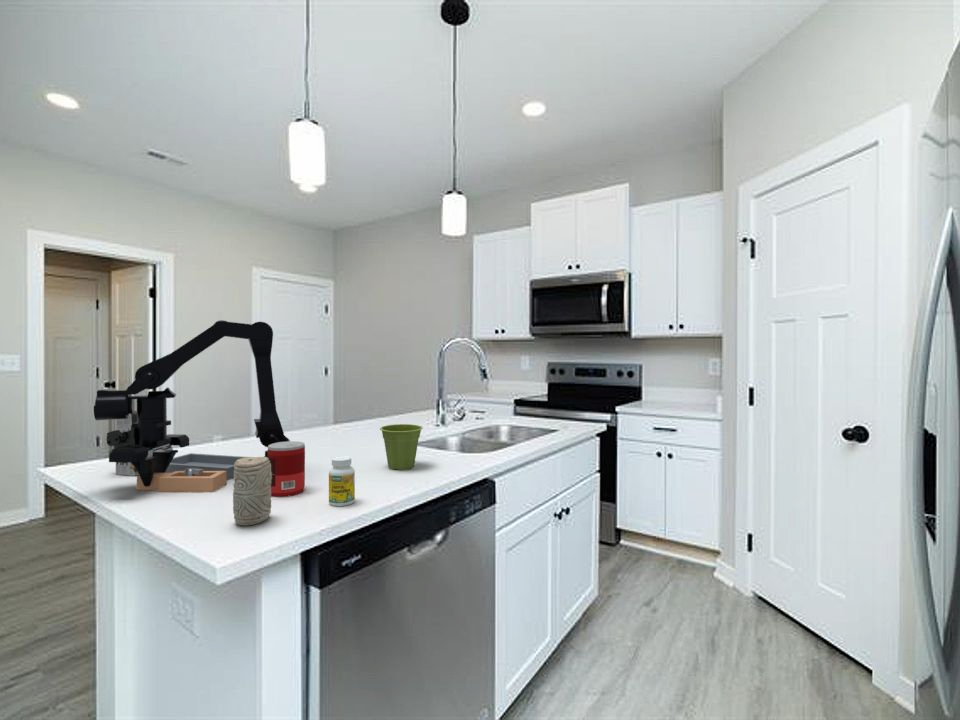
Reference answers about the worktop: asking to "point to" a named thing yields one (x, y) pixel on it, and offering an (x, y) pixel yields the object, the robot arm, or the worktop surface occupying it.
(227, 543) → the worktop surface
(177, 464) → the tray
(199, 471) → the post
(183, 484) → the wooden slotted key block
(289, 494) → the canned food
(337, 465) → the supplement bottle
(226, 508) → the worktop surface
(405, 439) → the plant pot
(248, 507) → the carving
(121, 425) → the cookie box
